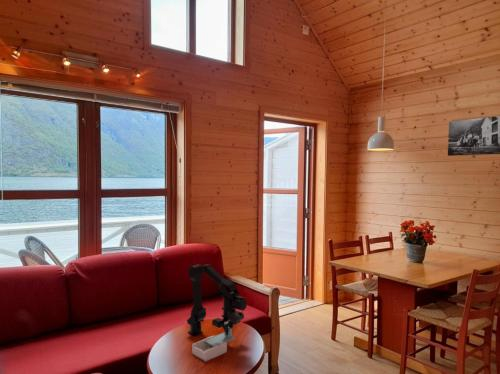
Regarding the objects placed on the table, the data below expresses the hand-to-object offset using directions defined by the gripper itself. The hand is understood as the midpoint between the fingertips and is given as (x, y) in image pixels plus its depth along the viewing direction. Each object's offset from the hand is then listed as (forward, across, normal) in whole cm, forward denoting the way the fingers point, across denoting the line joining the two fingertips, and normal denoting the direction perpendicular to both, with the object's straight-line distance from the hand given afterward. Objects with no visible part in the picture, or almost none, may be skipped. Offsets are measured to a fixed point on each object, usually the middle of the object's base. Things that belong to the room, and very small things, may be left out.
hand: (228, 334), depth 191 cm
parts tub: (+6, -13, 0) cm, 14 cm away
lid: (+1, -6, 0) cm, 6 cm away
